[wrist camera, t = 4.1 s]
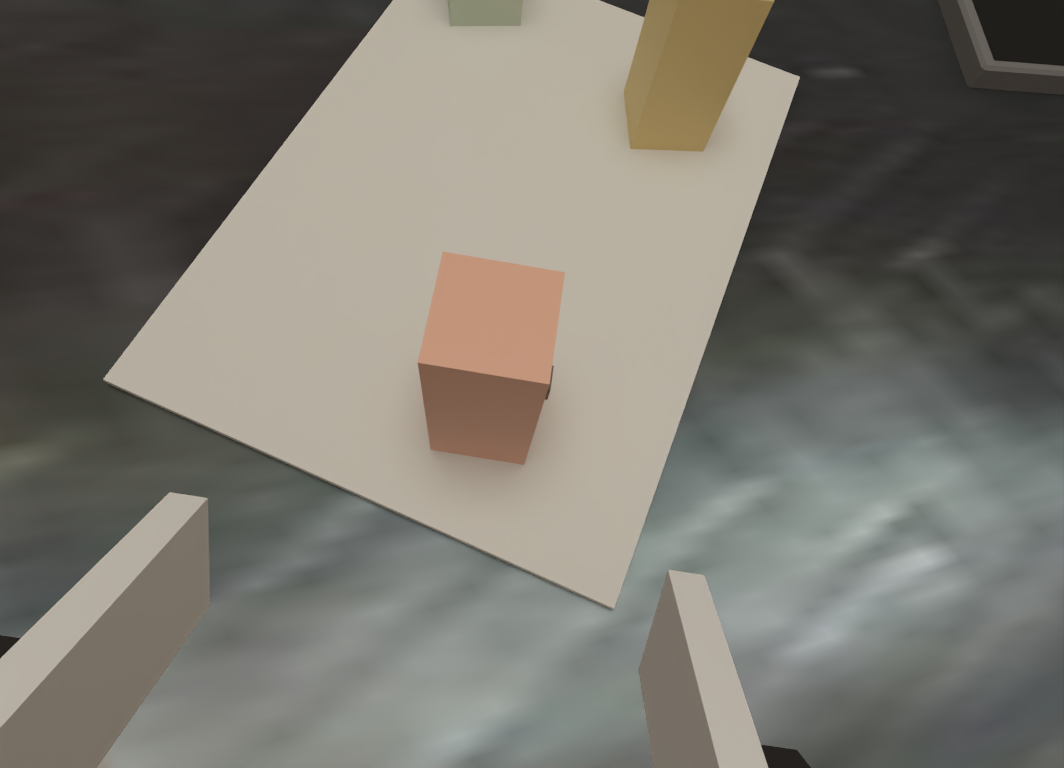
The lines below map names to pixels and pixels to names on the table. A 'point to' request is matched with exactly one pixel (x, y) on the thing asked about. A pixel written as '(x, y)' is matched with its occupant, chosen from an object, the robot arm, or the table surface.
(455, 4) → the domino block
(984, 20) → the electronic device
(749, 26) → the domino block
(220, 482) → the table surface
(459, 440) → the domino block
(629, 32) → the mat
